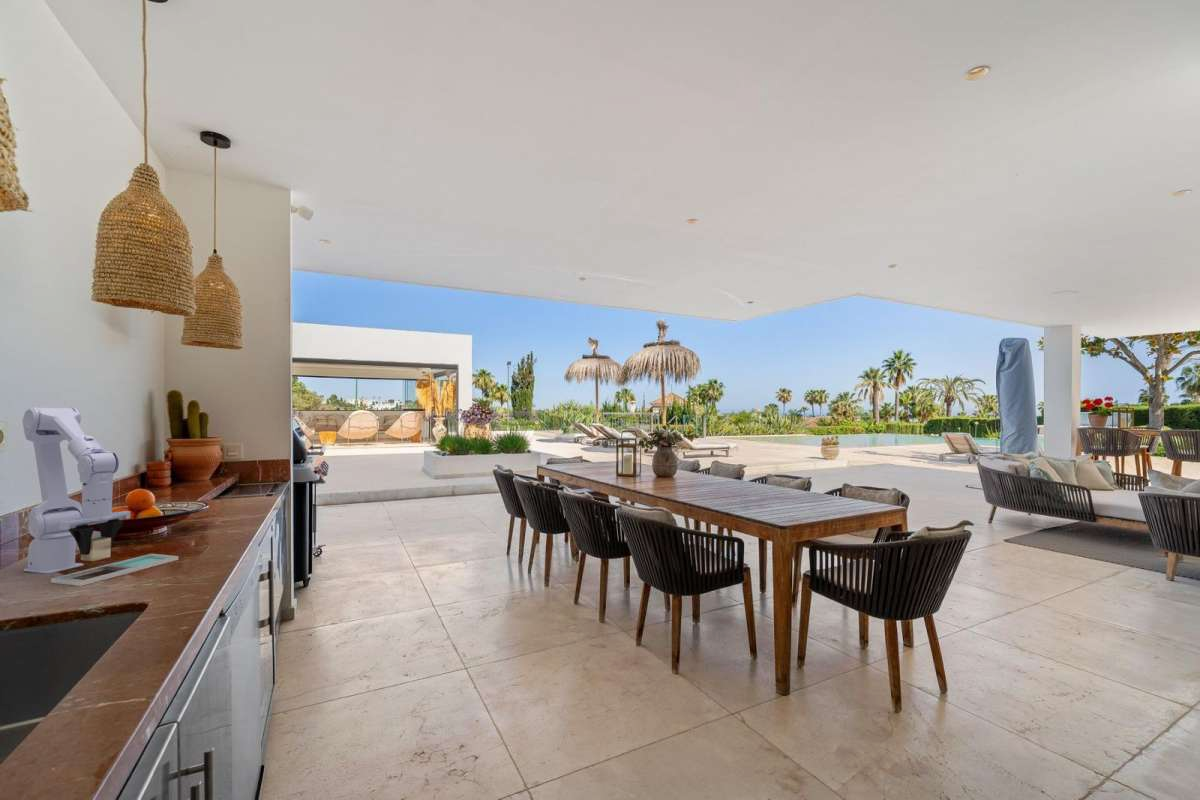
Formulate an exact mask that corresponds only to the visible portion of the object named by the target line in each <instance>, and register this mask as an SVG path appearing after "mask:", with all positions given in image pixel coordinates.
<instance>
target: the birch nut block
mask: <svg viewBox="0 0 1200 800" xmlns="http://www.w3.org/2000/svg"><path fill="white" fill-rule="evenodd" d="M111 547H112V545H111V538H109V537H101V536H96V537H92V538H91V548H90V554H88V555H82V554H80V561H87V562H88V561H90V562H95V561H99V560H104V559H107V558H111V553H112V552H111Z"/></svg>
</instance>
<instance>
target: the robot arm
mask: <svg viewBox="0 0 1200 800" xmlns="http://www.w3.org/2000/svg"><path fill="white" fill-rule="evenodd" d="M81 420H82V416H81V413H80V411H79V410H78V408H76V407H34V406H31V407H28V408H27V410H25V412H24V415H23V417H22V425H23V433H24V437H25V440H27V441H28V442H31V443H33V448H34V453H35V461H36V468H37V475H38V480H39V489H40V495H41V502H40V503H39V504H37V505H36V506H34V507H33V508H31V510H30V511H29V512H28V522H27V523H28V524H27V528H28V533H29V534H30V536H32V537H33V538H34V539H32V540H31V542H30V543H29V545H28V548H27V549H28V550H27V551H28V554H27V568H24V569H23V572H29V573H36V574H37V573H40V574H53V573H58V572H61V571H65V570H71V569H73V568H78V567H82V566H84V563H81V562H76V548H77V547H78V549H79V553H80V555H81V554H82V555H88V554H90V548H91V538H93V534H94V531H95V528H94V527H91V525H97V524H98V528H99V532H100V537H109V538H111V546H112V544H113V542H114V539H115V537H116V535H117V533H118V531H119V530H120V529H121V528H122V526H123V522H124V521H123V520H128V519H131V511H128V510H123V511H115V512H113V490H114V487H113V486H114V485H113V484H114V482H113V481H114V474H116V472H117V471H118V470H119V467H120V458H119V456H118V455H117V453H116V452H114V451H110V450H105V448H104V447H103V446H102V445H101V444H100V442H99V441H98V440H97V439H96V438H95V437H94V436H92V435H87V434H86V433H85V431H84V430H83V428H82V426H81V425H80V424H81ZM62 441H67V442H68V443H67V451H69V452H70V454H71V455H72V457H73V458H75V460H76V461H77V466H76V467H77V470H78V471H77V472H78V474H79V480H80V481H79V482H80V483H82V484H81V485H82V489H81V502H79V501H77V500H76V499H75V500H74V499H72V498H70V497H69V495H68V488H67V481H66V474H65V470H64V462H63V457H62V448H61V442H62ZM76 546H77V547H76Z"/></svg>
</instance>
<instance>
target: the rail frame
mask: <svg viewBox="0 0 1200 800" xmlns="http://www.w3.org/2000/svg"><path fill="white" fill-rule="evenodd" d="M175 561H179V556H178V555H172V554H171V555H169V554H160V553H159V554H157V553H149V554H146V555H145V554H144V555H140V556H137V557H133V558H128V559H124V560H121V561H117V562H112V563H108V564H105V565H101V566H96V567H92V568H88V569H85V570H80V571H77V572H72V573H68V574H64V575H60V576H56V577H52V578H50V583H52V584H53V583H54V584H61V585H68V586H69V585H71V586H76V587H77V586H78V587H82V586H85V585H90V584H93V583H96V582H100V581H105V580H108V579H111V578H115V577H119V576H123V575H126V574H131V573H134V572H137V571H142V570H145V569H149V568H151V567H156V566H160V565H161V566H162V565H164V564H168V563H171V562H175ZM103 571H112V572H109V573H106V574H100V575H98V576H94V577H90V578H86V579H77V578H78V577H82V576H87V575H90V574H91V575H92V574H94V573H98V572H103Z"/></svg>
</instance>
